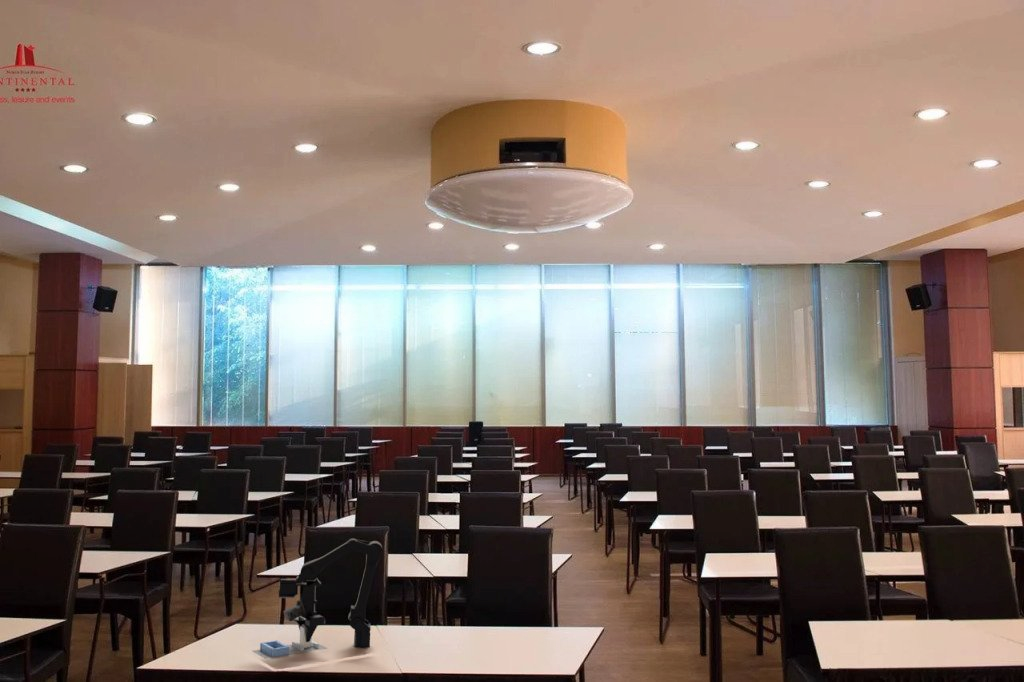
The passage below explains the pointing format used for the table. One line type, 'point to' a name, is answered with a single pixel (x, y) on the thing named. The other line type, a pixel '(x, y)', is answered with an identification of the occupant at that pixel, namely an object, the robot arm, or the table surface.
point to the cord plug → (304, 638)
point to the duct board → (284, 648)
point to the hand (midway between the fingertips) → (305, 640)
